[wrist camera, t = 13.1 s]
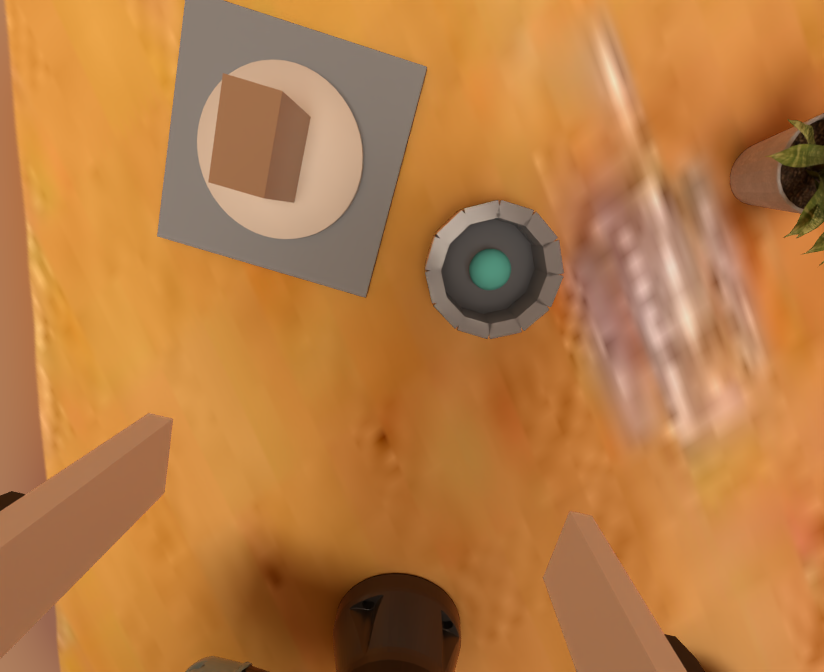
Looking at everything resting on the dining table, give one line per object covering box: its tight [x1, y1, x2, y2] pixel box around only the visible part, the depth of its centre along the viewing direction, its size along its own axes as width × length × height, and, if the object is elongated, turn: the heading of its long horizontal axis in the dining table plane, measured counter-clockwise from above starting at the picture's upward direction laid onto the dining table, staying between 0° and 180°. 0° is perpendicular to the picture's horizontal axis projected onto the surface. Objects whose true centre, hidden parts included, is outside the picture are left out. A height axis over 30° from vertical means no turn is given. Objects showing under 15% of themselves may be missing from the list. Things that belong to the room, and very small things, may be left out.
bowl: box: [425, 200, 564, 339], centre depth 36 cm, size 11×11×5 cm
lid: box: [197, 59, 364, 239], centre depth 32 cm, size 14×14×8 cm
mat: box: [157, 0, 427, 297], centre depth 36 cm, size 20×20×1 cm
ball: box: [469, 249, 511, 290], centre depth 36 cm, size 4×4×4 cm
